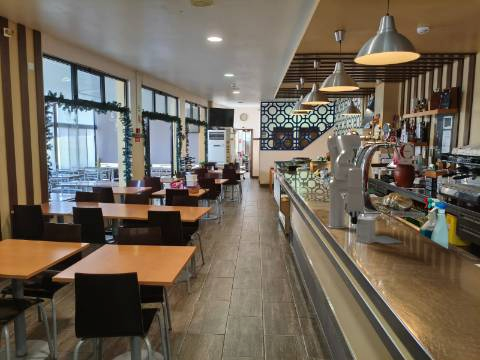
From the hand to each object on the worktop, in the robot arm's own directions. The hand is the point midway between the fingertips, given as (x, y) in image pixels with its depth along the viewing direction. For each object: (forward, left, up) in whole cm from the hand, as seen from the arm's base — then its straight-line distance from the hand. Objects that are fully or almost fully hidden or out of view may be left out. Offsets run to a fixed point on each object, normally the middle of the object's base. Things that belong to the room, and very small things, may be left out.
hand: (354, 223), depth 204 cm
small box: (0, +7, -11) cm, 13 cm away
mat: (0, +19, -10) cm, 22 cm away
